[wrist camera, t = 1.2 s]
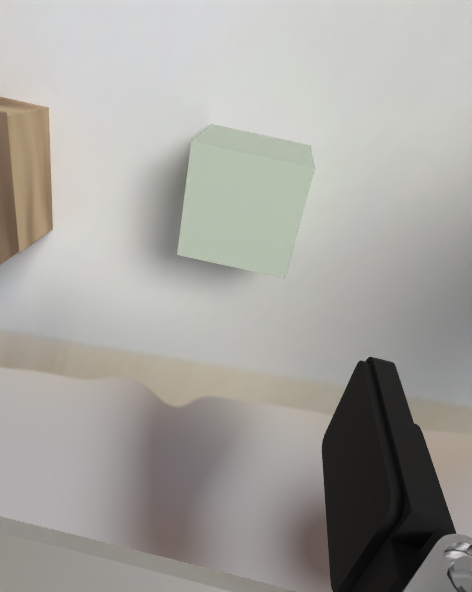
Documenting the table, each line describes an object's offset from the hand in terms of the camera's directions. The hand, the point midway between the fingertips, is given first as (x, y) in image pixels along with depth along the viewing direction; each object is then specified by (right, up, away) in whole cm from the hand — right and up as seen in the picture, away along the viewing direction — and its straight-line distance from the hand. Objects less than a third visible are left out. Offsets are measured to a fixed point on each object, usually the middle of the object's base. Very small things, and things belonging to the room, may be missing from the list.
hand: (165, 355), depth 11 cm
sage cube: (+3, +9, +16) cm, 19 cm away
